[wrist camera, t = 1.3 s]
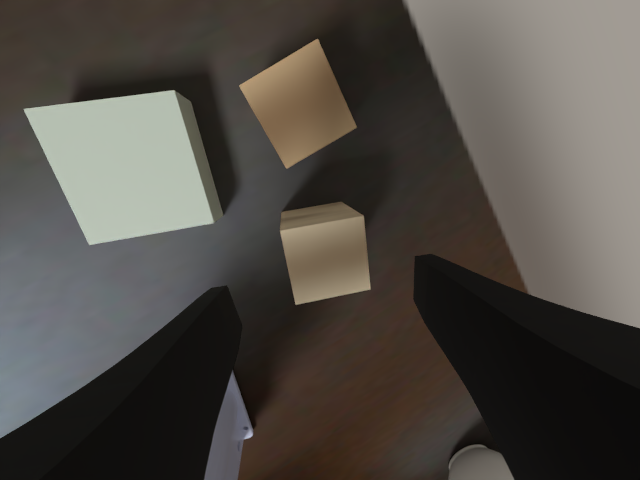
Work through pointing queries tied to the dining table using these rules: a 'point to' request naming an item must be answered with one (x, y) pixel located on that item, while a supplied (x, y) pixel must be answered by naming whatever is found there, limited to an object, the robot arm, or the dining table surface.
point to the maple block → (325, 251)
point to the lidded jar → (478, 464)
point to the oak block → (299, 104)
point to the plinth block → (129, 164)
